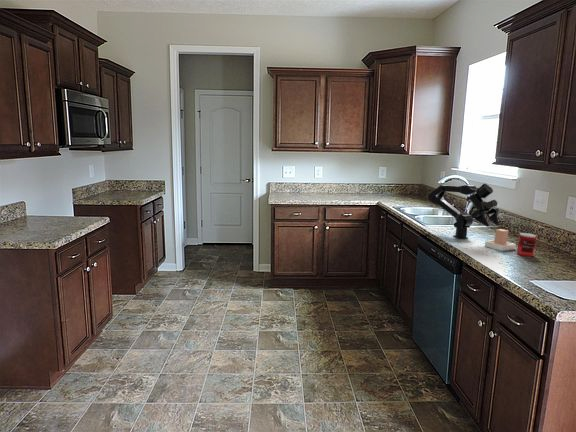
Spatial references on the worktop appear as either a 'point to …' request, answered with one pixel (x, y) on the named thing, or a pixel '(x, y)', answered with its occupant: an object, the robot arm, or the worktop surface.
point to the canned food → (526, 244)
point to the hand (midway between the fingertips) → (493, 225)
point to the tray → (500, 246)
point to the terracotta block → (501, 237)
